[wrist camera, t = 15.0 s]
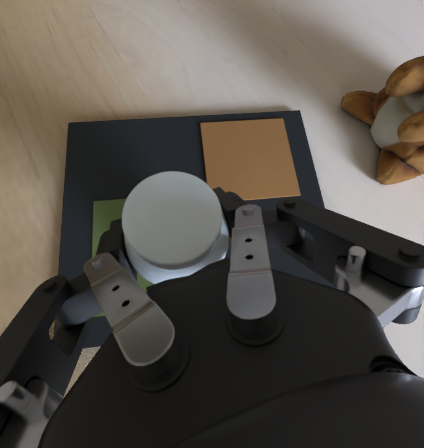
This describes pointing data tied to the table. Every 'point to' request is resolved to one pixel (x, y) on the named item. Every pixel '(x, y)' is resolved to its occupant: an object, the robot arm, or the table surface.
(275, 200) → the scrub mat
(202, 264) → the supplement bottle
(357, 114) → the stuffed squirrel
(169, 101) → the table surface
